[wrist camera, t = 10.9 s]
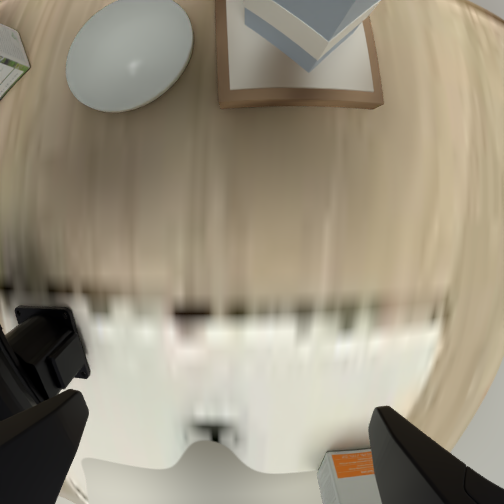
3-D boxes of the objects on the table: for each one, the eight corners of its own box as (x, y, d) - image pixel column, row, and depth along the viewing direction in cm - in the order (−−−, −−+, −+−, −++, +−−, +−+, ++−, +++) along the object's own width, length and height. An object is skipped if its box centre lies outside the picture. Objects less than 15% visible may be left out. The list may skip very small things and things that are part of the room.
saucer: (74, 126, 18) (62, 123, 16) (82, 22, 16) (73, 14, 14) (196, 103, 18) (192, 97, 16) (195, -5, 16) (192, -17, 14)
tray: (221, 109, 18) (218, 101, 16) (216, -12, 15) (214, -27, 13) (373, 109, 18) (385, 103, 16) (353, -8, 15) (361, -20, 14)
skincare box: (379, 445, 25) (417, 533, 13) (366, 468, 26) (395, 551, 14) (325, 450, 25) (351, 550, 13) (314, 473, 26) (333, 565, 14)
